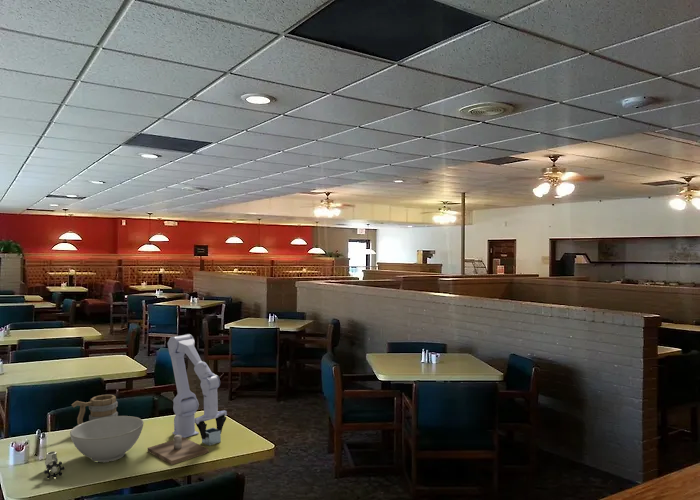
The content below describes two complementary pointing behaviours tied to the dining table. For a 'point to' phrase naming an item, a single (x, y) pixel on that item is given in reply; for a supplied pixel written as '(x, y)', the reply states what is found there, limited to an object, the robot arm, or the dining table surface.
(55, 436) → the dining table surface
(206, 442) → the collar
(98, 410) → the tankard
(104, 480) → the dining table surface
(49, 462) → the valve
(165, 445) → the post board
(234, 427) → the dining table surface
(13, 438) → the dining table surface
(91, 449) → the decorative bowl
